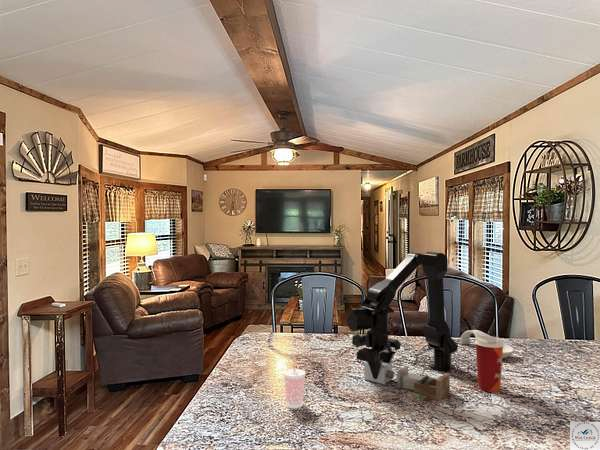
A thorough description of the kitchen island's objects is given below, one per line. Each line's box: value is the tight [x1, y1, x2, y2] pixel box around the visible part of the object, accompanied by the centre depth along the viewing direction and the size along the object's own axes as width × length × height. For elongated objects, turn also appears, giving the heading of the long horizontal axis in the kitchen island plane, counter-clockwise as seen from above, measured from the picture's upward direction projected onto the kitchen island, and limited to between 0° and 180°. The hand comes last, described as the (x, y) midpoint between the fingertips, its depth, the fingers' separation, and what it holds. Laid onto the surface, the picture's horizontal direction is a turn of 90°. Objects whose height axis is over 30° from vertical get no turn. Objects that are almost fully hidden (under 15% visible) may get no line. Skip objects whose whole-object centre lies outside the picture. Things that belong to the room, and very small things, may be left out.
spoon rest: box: [459, 329, 515, 359], centre depth 172 cm, size 24×12×7 cm, turn 20°
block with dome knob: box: [363, 361, 395, 385], centre depth 142 cm, size 5×8×6 cm, turn 52°
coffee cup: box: [474, 335, 505, 393], centre depth 135 cm, size 8×8×15 cm
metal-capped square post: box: [396, 366, 434, 391], centre depth 134 cm, size 7×10×5 cm
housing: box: [407, 372, 451, 402], centre depth 131 cm, size 10×9×6 cm
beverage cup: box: [283, 353, 306, 409], centre depth 123 cm, size 6×6×14 cm
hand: (379, 376), depth 142 cm, fingers closed on block with dome knob, 5 cm apart
